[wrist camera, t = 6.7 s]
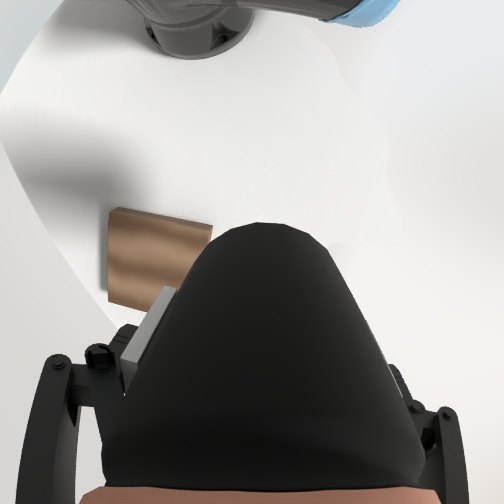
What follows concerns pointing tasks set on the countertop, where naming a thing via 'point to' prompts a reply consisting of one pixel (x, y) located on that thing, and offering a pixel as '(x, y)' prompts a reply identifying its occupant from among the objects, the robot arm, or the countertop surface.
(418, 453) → the coffee jar
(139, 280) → the walnut riser
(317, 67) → the countertop surface
